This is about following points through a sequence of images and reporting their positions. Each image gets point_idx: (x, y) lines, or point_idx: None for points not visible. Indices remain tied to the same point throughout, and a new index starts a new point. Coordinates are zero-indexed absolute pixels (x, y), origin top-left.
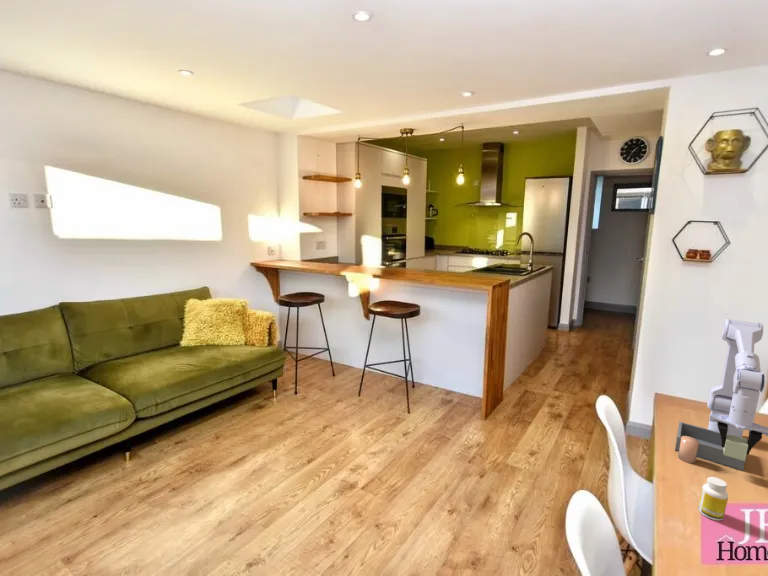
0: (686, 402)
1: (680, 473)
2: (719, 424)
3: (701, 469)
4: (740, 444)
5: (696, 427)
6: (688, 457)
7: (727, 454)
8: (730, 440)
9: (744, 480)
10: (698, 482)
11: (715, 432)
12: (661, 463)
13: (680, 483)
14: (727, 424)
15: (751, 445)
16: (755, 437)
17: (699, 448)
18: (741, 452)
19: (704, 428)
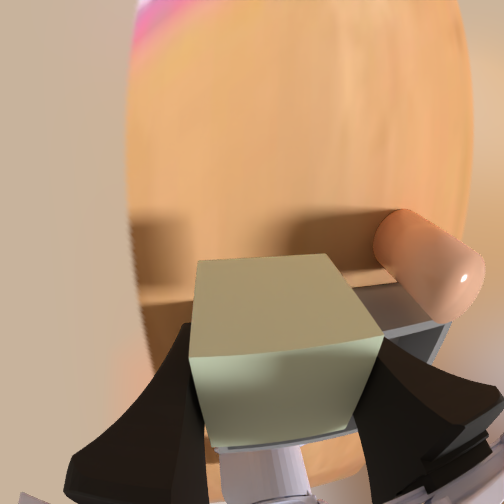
0: (315, 483)
1: (426, 95)
2: (480, 441)
3: (359, 187)
4: (260, 348)
5: (356, 427)
6: (417, 218)
7: (309, 259)
8: (350, 354)
9: (190, 218)
10: (372, 55)
11: (302, 439)
12: (469, 139)
13: (419, 20)
14: (421, 491)
15: (163, 384)
16: (117, 481)
17: (377, 313)
18: (231, 294)
19: (333, 437)
